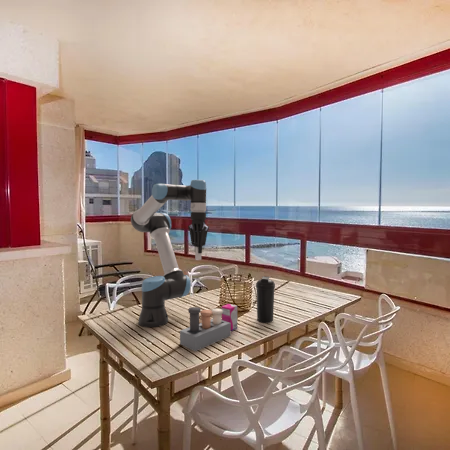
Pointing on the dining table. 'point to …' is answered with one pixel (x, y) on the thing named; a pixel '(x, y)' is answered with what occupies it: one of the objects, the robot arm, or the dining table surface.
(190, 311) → the black plug
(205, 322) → the terracotta plug
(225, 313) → the supplement box
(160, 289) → the robot arm
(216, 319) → the cream plug
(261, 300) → the water bottle
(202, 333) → the socket block
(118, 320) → the dining table surface
